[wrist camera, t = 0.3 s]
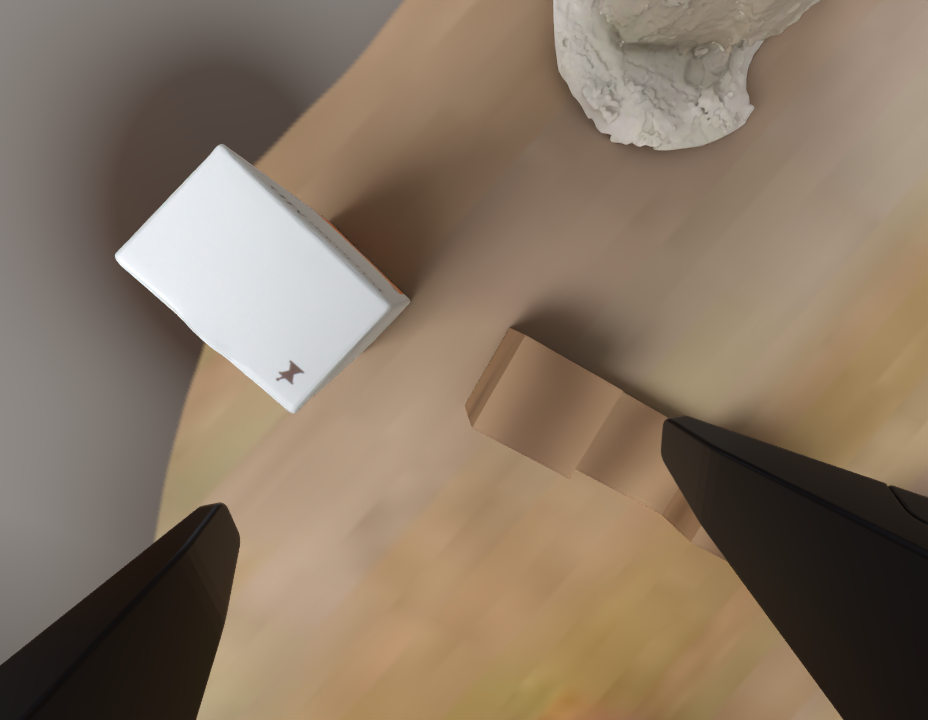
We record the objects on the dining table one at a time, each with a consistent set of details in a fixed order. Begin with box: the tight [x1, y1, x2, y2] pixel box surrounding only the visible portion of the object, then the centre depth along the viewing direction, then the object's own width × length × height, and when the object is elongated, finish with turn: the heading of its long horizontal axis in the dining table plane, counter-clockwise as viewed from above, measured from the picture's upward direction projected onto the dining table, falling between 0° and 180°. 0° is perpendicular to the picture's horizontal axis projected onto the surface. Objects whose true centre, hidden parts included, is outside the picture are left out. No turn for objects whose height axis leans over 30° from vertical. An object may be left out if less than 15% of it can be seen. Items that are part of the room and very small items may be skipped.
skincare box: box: [115, 144, 410, 413], centre depth 17 cm, size 6×4×12 cm
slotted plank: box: [465, 328, 727, 561], centre depth 24 cm, size 18×5×4 cm, turn 60°
